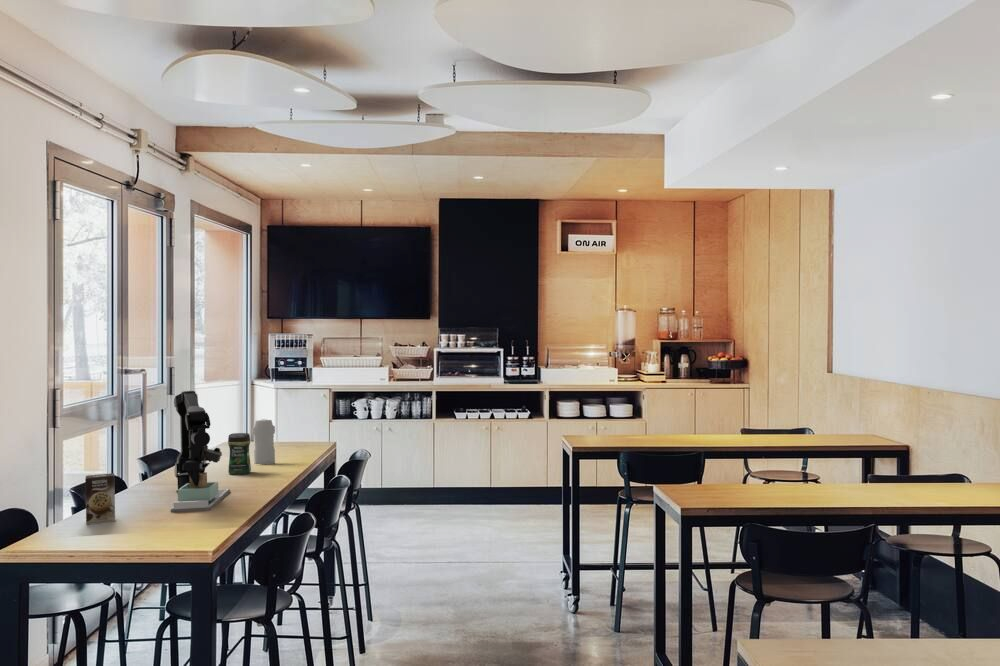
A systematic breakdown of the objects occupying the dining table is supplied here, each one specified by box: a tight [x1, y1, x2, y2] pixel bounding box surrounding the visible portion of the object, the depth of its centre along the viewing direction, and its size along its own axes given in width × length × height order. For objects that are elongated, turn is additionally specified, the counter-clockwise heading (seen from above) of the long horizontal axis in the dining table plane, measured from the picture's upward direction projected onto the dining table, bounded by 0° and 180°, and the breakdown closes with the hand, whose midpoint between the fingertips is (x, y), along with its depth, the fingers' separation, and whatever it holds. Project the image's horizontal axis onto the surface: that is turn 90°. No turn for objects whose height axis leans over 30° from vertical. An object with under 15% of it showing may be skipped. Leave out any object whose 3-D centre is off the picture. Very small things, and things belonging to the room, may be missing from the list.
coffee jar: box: [227, 432, 252, 475], centre depth 344 cm, size 10×8×19 cm
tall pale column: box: [252, 418, 276, 465], centre depth 366 cm, size 11×4×22 cm, turn 96°
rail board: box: [170, 487, 231, 513], centre depth 289 cm, size 14×30×3 cm, turn 7°
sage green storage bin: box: [177, 481, 219, 503], centre depth 285 cm, size 12×12×6 cm
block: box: [190, 471, 208, 489], centre depth 285 cm, size 5×5×5 cm
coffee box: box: [84, 472, 116, 525], centre depth 263 cm, size 9×6×16 cm
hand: (198, 484), depth 285 cm, fingers closed on block, 5 cm apart
